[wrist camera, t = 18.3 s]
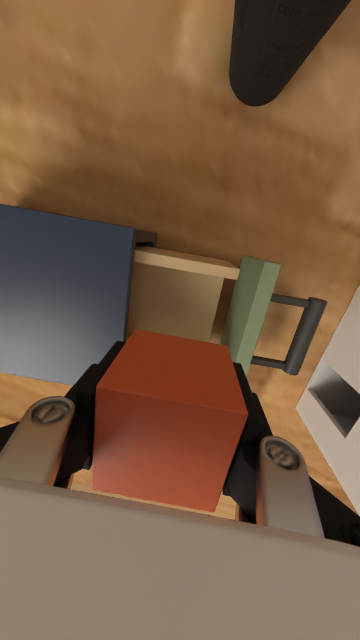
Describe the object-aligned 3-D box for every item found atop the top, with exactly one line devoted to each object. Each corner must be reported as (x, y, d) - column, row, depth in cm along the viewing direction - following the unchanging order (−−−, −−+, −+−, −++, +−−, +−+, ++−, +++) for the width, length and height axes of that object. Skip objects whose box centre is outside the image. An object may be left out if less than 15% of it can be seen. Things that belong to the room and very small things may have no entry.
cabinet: (157, 232, 23) (133, 228, 14) (143, 344, 27) (118, 394, 18) (13, 206, 23) (-99, 186, 14) (22, 322, 27) (-59, 362, 18)
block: (126, 403, 12) (90, 490, 8) (135, 328, 10) (95, 385, 6) (208, 418, 12) (214, 513, 8) (228, 345, 10) (249, 414, 6)
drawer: (309, 266, 22) (362, 278, 15) (273, 367, 26) (301, 413, 19) (118, 232, 22) (84, 228, 15) (111, 337, 26) (81, 373, 19)
